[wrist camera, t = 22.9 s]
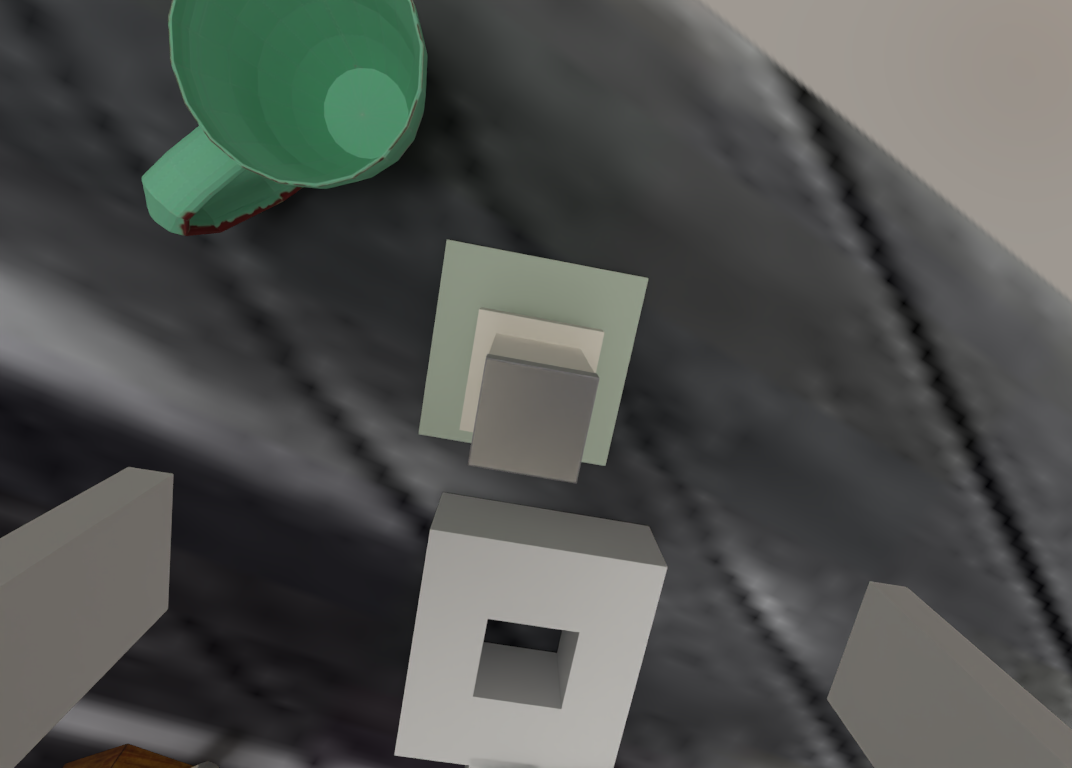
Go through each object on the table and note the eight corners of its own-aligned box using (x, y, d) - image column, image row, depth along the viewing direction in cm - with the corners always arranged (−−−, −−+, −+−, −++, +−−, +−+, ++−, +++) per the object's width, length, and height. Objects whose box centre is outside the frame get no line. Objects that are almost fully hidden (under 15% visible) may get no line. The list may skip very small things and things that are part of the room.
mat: (420, 430, 35) (418, 434, 35) (448, 239, 33) (446, 239, 32) (603, 461, 36) (605, 465, 35) (645, 277, 33) (648, 278, 33)
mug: (370, -26, 30) (294, -162, 20) (491, 128, 31) (476, 72, 22) (182, 161, 31) (29, 121, 22) (306, 295, 33) (217, 313, 24)
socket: (403, 735, 41) (339, 990, 27) (442, 492, 36) (390, 643, 22) (588, 760, 42) (621, 1020, 28) (648, 526, 37) (724, 692, 23)
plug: (471, 398, 34) (439, 483, 22) (487, 298, 33) (464, 327, 20) (569, 415, 35) (595, 509, 22) (589, 317, 33) (630, 357, 21)
